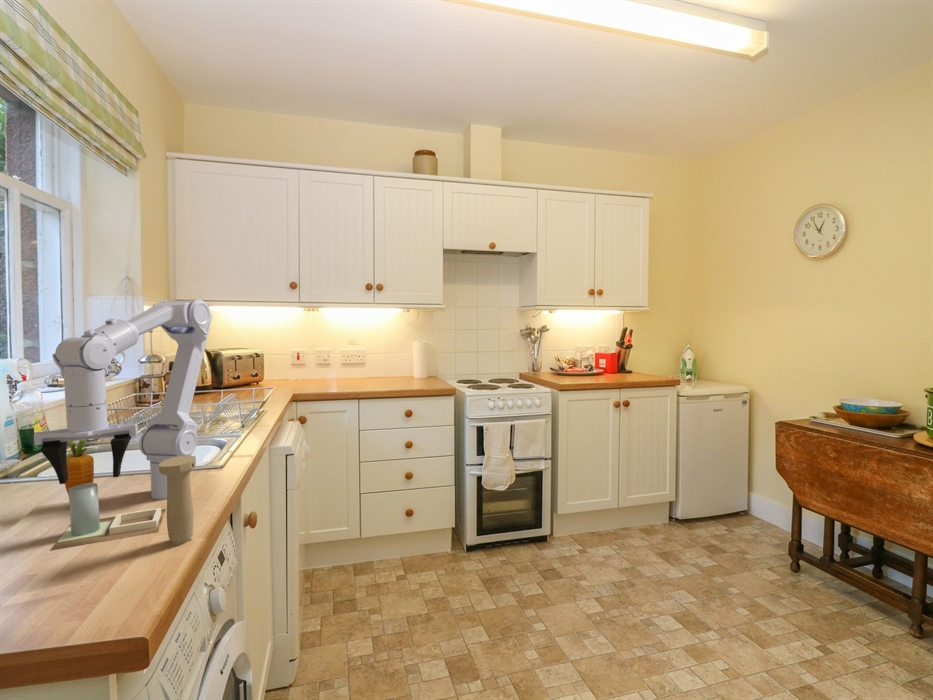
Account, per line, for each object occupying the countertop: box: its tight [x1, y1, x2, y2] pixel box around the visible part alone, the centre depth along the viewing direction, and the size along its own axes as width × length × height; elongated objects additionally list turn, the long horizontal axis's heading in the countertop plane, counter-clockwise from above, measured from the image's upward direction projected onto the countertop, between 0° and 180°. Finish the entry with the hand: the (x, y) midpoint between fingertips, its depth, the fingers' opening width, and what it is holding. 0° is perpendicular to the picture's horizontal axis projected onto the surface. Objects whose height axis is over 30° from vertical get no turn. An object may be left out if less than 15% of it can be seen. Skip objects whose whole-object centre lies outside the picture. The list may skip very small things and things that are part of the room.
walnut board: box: [49, 508, 167, 552], centre depth 87 cm, size 12×15×1 cm
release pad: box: [56, 521, 112, 543], centre depth 85 cm, size 6×6×1 cm
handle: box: [159, 455, 197, 546], centre depth 81 cm, size 5×6×15 cm
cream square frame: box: [109, 507, 162, 535], centre depth 89 cm, size 7×7×1 cm
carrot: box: [64, 440, 95, 497], centre depth 98 cm, size 5×5×15 cm
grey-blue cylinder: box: [68, 482, 100, 536], centre depth 85 cm, size 4×4×8 cm
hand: (90, 479), depth 86 cm, fingers open, 7 cm apart
